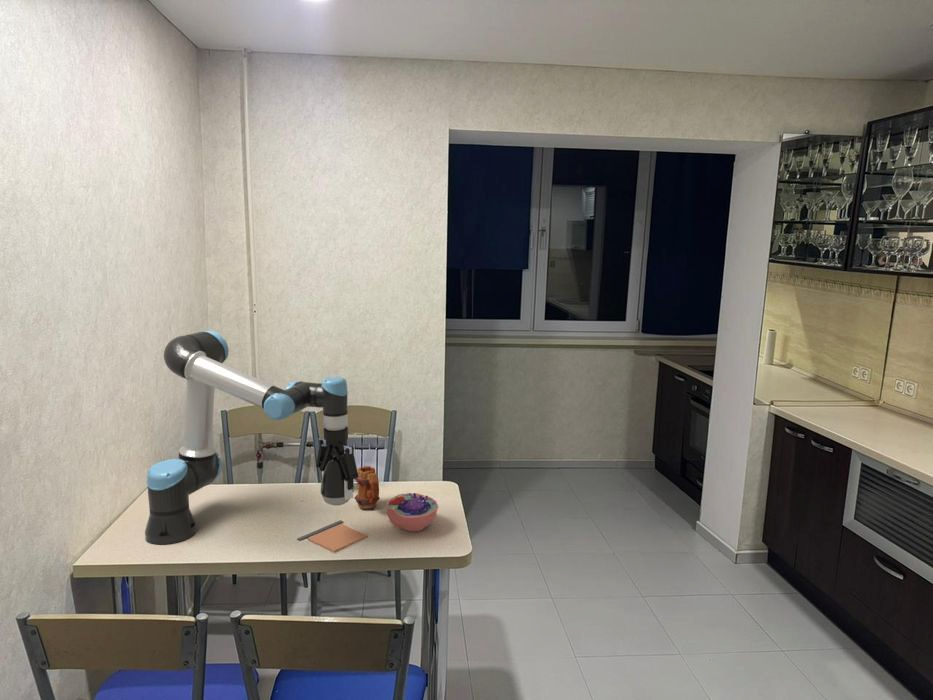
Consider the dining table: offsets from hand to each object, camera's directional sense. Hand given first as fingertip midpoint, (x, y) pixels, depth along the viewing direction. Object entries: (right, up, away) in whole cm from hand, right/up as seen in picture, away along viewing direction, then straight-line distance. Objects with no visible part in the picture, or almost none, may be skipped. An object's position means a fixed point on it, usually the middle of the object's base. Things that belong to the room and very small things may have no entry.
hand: (337, 494), depth 208 cm
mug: (+6, -11, +25) cm, 28 cm away
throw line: (-7, -14, +8) cm, 17 cm away
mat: (0, -15, +3) cm, 15 cm away
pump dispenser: (0, -3, 0) cm, 3 cm away
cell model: (+23, -14, +12) cm, 29 cm away
